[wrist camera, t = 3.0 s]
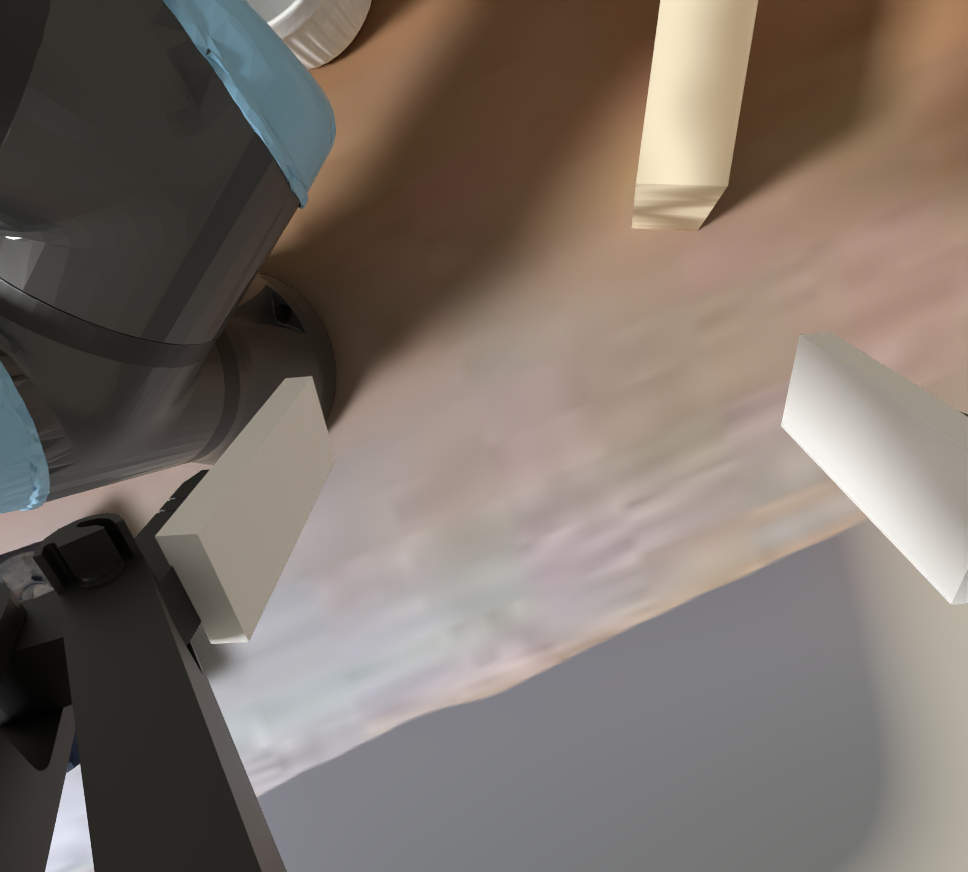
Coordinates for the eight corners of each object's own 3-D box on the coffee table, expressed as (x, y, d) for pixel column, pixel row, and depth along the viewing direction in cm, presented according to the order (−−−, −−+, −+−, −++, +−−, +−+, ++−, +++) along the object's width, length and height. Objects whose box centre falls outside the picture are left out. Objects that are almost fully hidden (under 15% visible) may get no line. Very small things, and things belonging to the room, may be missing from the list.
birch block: (631, 228, 34) (635, 183, 25) (659, 18, 32) (676, -119, 23) (697, 231, 34) (727, 185, 24) (731, 15, 31) (779, -130, 22)
